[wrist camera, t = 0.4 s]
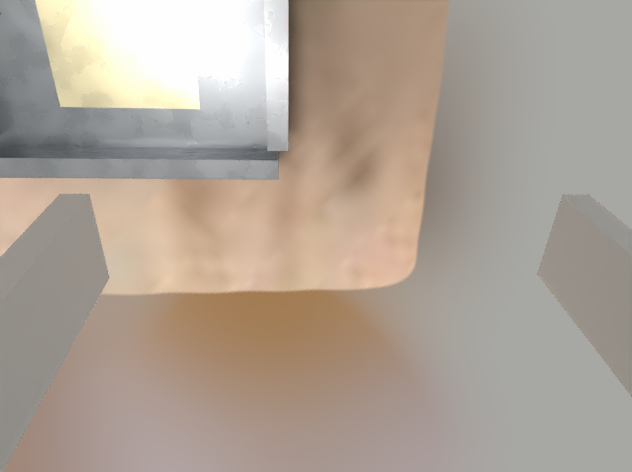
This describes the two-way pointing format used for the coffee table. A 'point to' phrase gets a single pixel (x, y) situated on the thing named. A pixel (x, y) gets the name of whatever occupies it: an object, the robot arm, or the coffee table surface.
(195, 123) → the gray metal tray
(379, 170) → the coffee table surface
